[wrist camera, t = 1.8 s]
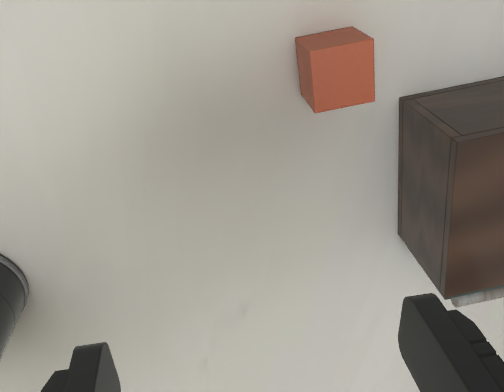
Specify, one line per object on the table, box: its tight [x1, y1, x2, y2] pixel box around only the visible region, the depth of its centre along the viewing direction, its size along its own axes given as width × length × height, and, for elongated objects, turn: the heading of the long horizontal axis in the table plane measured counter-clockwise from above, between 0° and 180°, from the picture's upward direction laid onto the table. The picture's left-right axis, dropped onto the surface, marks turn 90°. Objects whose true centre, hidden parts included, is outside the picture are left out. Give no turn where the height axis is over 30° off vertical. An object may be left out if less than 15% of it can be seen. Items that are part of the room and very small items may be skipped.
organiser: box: [398, 77, 504, 298], centre depth 39 cm, size 15×13×10 cm
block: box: [295, 27, 375, 113], centre depth 35 cm, size 5×5×5 cm
